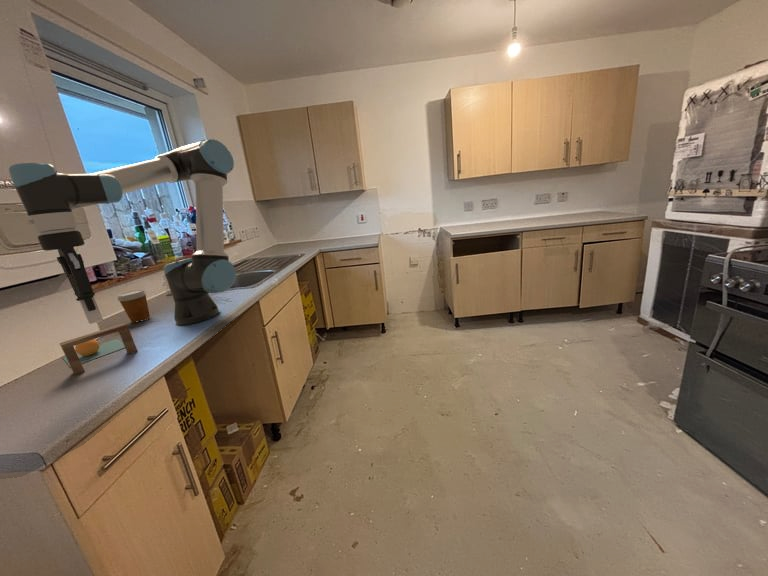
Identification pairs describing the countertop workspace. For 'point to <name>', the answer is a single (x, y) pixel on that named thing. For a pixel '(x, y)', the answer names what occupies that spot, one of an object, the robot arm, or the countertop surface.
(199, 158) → the robot arm
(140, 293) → the disposable coffee cup
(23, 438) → the countertop surface
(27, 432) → the countertop surface
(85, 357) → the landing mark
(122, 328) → the bridge
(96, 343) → the ball
